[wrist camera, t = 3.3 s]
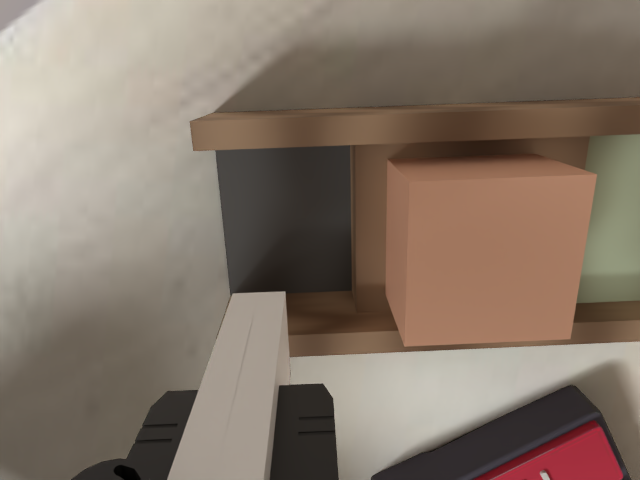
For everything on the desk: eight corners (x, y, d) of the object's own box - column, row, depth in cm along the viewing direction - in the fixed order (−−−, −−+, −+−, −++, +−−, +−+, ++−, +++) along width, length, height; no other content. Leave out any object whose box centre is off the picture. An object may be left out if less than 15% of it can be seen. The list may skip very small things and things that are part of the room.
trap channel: (233, 311, 28) (218, 360, 23) (212, 112, 24) (189, 121, 19) (831, 286, 28) (936, 328, 24) (901, 87, 25) (1043, 90, 20)
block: (385, 294, 24) (404, 346, 20) (387, 159, 22) (409, 181, 17) (519, 288, 24) (570, 339, 20) (535, 153, 22) (597, 174, 17)
